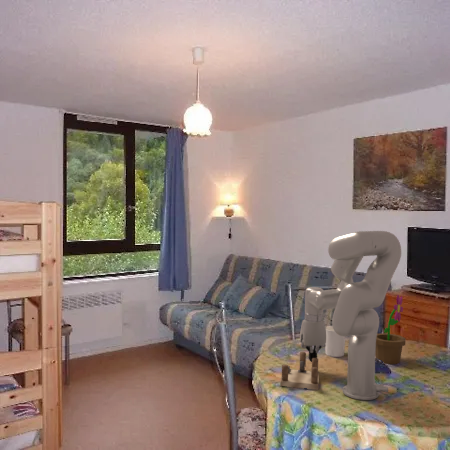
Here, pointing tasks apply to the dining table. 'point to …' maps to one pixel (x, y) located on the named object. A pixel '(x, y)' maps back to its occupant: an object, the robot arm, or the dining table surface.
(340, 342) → the white paper cup
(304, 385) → the stool
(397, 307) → the flowerpot
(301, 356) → the hinged leg
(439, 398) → the dining table surface
